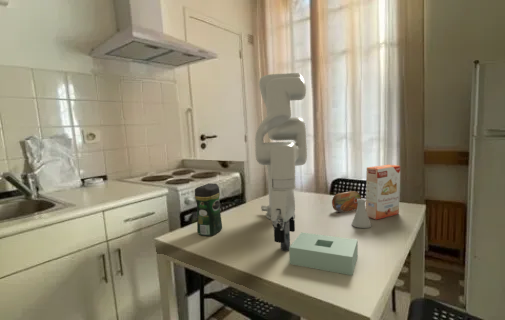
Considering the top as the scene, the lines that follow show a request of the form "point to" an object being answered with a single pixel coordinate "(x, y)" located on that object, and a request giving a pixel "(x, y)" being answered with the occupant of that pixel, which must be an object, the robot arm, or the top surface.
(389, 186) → the cracker box
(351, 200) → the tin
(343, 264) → the green block with hole
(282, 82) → the robot arm
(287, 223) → the peg
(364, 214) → the flask
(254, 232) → the top surface
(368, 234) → the top surface
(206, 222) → the coffee jar
